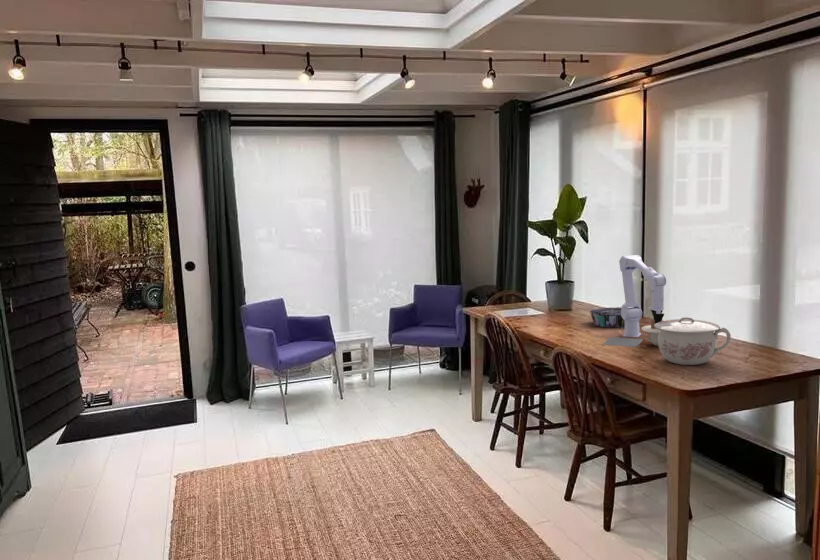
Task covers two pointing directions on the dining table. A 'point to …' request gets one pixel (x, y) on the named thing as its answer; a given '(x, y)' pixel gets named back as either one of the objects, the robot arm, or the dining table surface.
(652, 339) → the teacup
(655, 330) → the lid
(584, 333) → the dining table surface
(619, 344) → the mat
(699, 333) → the chamber pot
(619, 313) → the decorative bowl
